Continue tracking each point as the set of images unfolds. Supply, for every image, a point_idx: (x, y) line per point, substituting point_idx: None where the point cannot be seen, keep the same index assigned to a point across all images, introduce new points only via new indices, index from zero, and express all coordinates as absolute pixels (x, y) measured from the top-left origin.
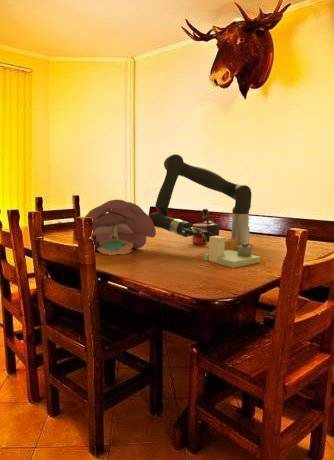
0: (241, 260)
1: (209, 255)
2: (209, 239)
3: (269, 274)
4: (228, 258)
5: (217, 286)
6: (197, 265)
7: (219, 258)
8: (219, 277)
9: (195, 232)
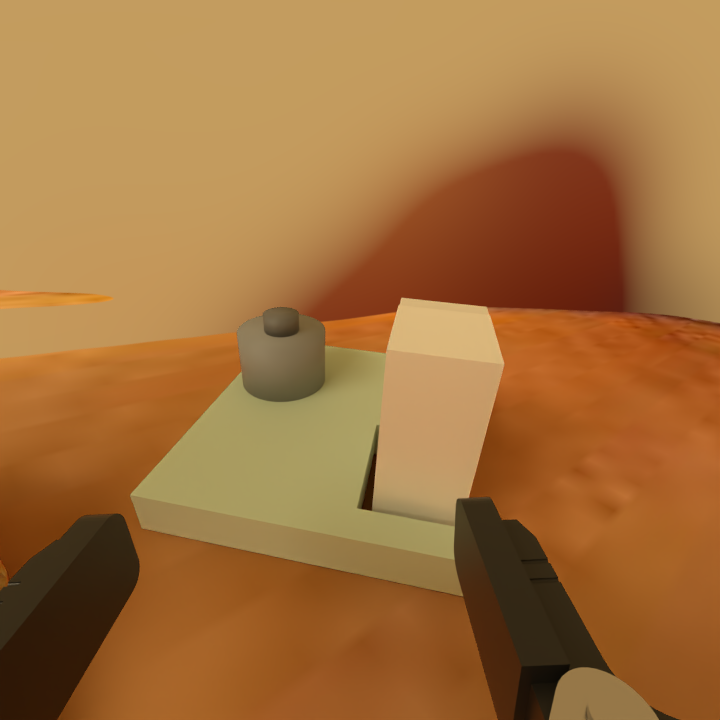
0: None
1: None
2: (496, 393)
3: None
4: None
5: (675, 348)
6: (638, 523)
7: None
8: (618, 371)
9: (562, 669)
